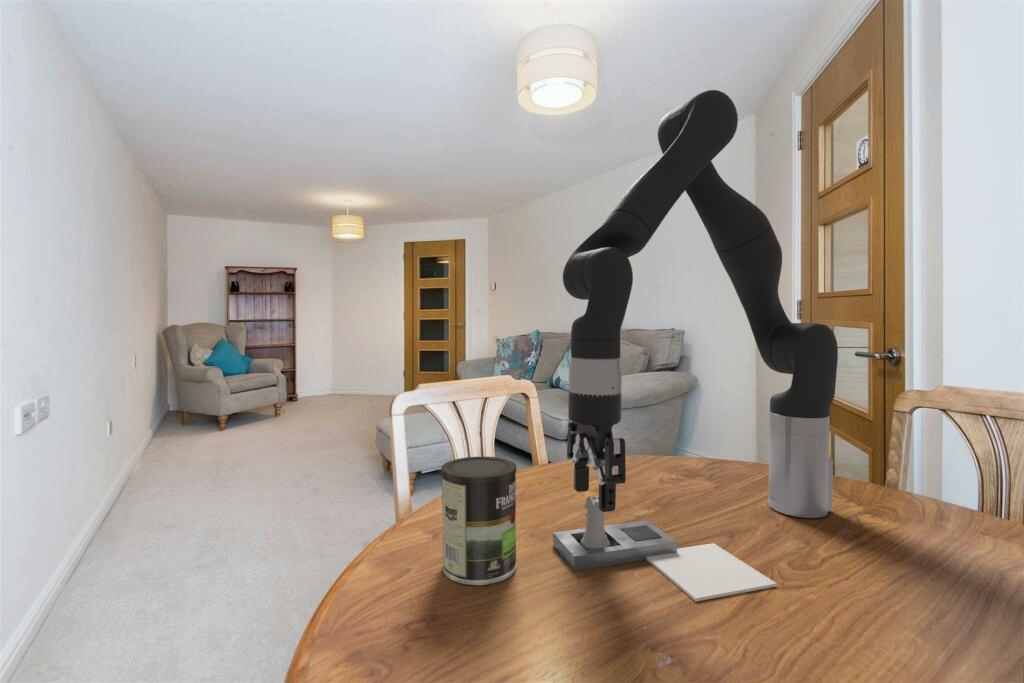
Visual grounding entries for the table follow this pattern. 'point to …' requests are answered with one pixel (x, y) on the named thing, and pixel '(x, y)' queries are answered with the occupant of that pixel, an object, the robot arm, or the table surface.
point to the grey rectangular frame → (615, 545)
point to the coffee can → (479, 520)
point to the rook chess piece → (594, 526)
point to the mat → (709, 572)
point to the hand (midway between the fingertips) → (593, 500)
